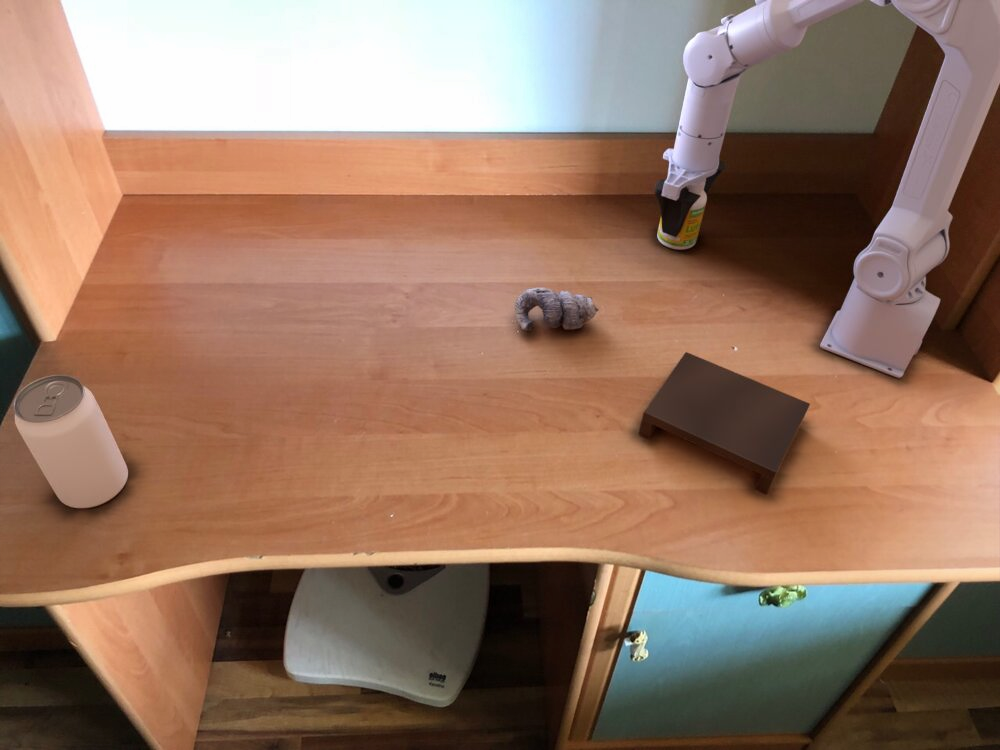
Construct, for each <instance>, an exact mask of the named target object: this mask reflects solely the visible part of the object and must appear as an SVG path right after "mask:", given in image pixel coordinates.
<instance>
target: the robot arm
mask: <svg viewBox="0 0 1000 750" xmlns="http://www.w3.org/2000/svg"><path fill="white" fill-rule="evenodd" d="M865 1H866V0H754V2H755V5H753V6H752V7H750V8H748V9H747V10H746V9H745V10H744V11H742V12H741V13H739V14H736V15H735V14H734V13H730V14H728V15H727V16H725V17H722V18H721V19H720V23H721V25H719V26H717V27H714V28H711V29H709V30H706V31H700V32H697V33H696V34H695V36H694V37H692V38H691V39H689V41H688V43H687V44H686V45H685V48H684V51H683V56H682V63H683V68H684V71H685V73H686V75H687V77H688V79H687V83H686V88H685V93H684V98H683V103H682V107H681V113H680V117H679V122H678V127H677V132H676V137H675V141H674V146H673V148H667V149H666V150H665V151H664V152H663V155H662V159H663V160H665V161H668V162H669V163H668V170H667V178H666V179H662V178H661V179H660V180H658V182H656V184H655V185H654V195H655V197H656V199H657V201H658V205H659V207H660V208H659V209H660V219H661V221H662V232H663V233H666V234H669V235H671V236H674V237H677V235H678V234H679V233H680V231H681V229H682V227H683V225H684V222H685V219H686V217H687V215H688V213H689V211H690V209H691V207H692V206H693V204H694V203H695V202H696V201H697V200H698V199H699V198H700V196H701V195H698V194H695V193H692V192H689V191H688V190H689V188H687V186H689V185H691V184H693V183H696V182H698V181H700V180H703V179H705V178H706V182H705V186H704V191H705V193H706V196H708V193H709V191H710V190H711V187H712V185H713V184H714V182H715V181H716V179H717V178H718V177H719V176H720V174H721V173H723V171H724V170H725V168H726V163H725V162H724V161H722V160H721V159H720V155H721V152H722V147H723V143H724V139H725V135H726V131H727V127H728V123H729V119H730V115H731V112H732V108H733V104H734V99H735V95H736V92H737V88H738V86H739V83H740V79H741V77H742V75H743V74H744V73H745V72H747V71H748V70H749V69H751V68H753V67H756V66H757V65H760V64H762V63H763V62H766V61H768V60H770V59H772V58H775V57H776V56H779V55H781V54H783V53H785V52H787V51H790V50H791V49H794V48H796V47H798V46H799V45H800V44H801V43H802V41H803V39H804V37H805V35H806V32H807V29H808V27H809V26H812V25H814V24H816V23H818V22H820V21H822V20H825V19H828V18H829V17H832V16H835V15H836V14H838V13H841V12H843V11H845V10H847V9H849V8H852V7H853V6H854V7H855V6H857V5H859V4H861V3H864V2H865ZM869 1H870V2H872V3H873V4H875V5H876V6H879V7H883V8H884V7H887V6H890V5H891V4H892V5H893V6H894V8H895V9H897V10H898V11H899V12H900V13H901V14H902V15H903V16H904V17H906V18H907V19H909V20H910V21H912V22H913V23H914V24H916V26H918V27H920V28H921V29H922V30H924V31H925V32H926V33H928V34H929V35H931V36H932V37H933V39H934V40H935V41H936V43H937V44H938V45H939V47H940V48H941V50H942V51H943V54H944V59H943V62H942V65H941V67H940V71H939V73H938V76H937V78H936V81H935V84H934V87H933V90H932V92H931V95H930V99H929V101H928V105H927V107H926V110H925V112H924V115H923V118H922V120H921V124H920V126H919V129H918V133H917V135H916V138H915V140H914V144H913V146H912V149H911V152H910V154H909V157H908V160H907V163H906V166H905V169H904V171H903V174H902V177H901V180H900V183H899V186H898V189H897V191H896V194H895V197H894V198H893V202H892V205H891V208H890V209H889V210H888V212H887V213H886V215H885V216H884V217H883V219H882V220H881V222H880V224H879V225H878V226H877V228H876V229H875V230H874V233H873V236H872V239H871V241H870V243H869V244H868V245H867V247H865V248H864V249H863V250H861V251H860V252H859V253H858V255H857V256H856V258H855V260H854V262H853V276H854V278H853V280H852V283H851V285H850V287H849V290H848V292H847V294H846V296H845V298H844V301H843V303H842V306H841V307H840V310H837V311H836V312H835V315H834V317H833V319H832V320H831V323H830V324H829V326H828V329H827V330H826V332H825V333H824V336H823V338H822V340H821V342H820V344H819V347H820V349H823V350H825V351H828V352H831V353H833V354H836V355H837V356H838V355H839V356H840V357H842V358H843V357H844V358H846V359H848V360H851V361H854V362H856V363H859V364H861V365H864V366H866V367H869V368H871V369H874V370H877V371H879V372H881V373H883V374H886V375H890V376H892V377H895V378H897V379H901V378H902V377H903V376H904V374H905V371H906V370H907V368H908V366H909V364H910V362H911V360H912V359H913V356H914V355H917V354H918V352H919V350H920V348H921V345H922V344H923V339H924V337H925V335H926V334H927V331H928V329H929V327H930V325H931V323H932V322H933V319H934V317H935V315H936V313H937V310H938V309H939V306H940V303H941V298H939V297H938V296H936V295H934V294H932V293H931V292H929V291H928V290H926V286H927V285H926V284H927V276H926V275H927V274H928V273H930V272H931V271H932V270H933V269H934V268H936V267H938V266H940V265H941V264H942V263H943V262H944V261H945V259H946V258H947V256H948V254H949V251H950V246H951V245H950V244H951V243H950V237H949V229H950V226H951V222H952V220H953V215H952V214H951V213H950V212H949V208H950V206H951V203H952V201H953V198H954V196H955V193H956V191H957V188H958V186H959V184H960V181H961V179H962V176H963V173H964V171H965V169H966V167H967V164H968V162H969V159H970V158H971V155H972V152H973V150H974V147H975V145H976V142H977V140H978V137H979V135H980V133H981V130H982V128H983V126H984V123H985V120H986V118H987V115H988V113H989V111H990V108H991V105H992V103H993V101H994V98H995V96H996V93H997V91H998V88H999V86H1000V0H869Z"/></svg>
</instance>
